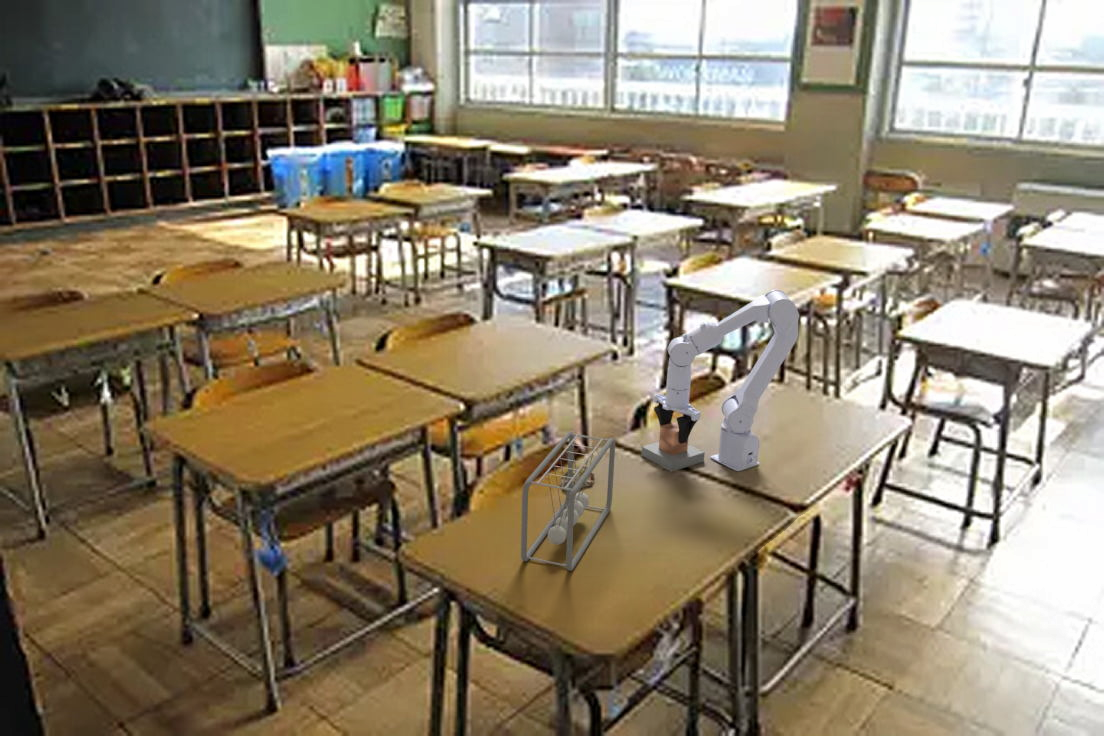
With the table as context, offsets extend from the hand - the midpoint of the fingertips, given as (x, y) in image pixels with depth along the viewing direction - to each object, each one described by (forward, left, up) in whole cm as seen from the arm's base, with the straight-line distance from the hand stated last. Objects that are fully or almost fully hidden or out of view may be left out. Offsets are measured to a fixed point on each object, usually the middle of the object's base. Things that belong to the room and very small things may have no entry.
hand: (674, 438), depth 231 cm
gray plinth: (0, 0, -6) cm, 6 cm away
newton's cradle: (-16, +45, -6) cm, 48 cm away
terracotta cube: (0, 0, -3) cm, 3 cm away
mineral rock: (+2, +29, -6) cm, 29 cm away
